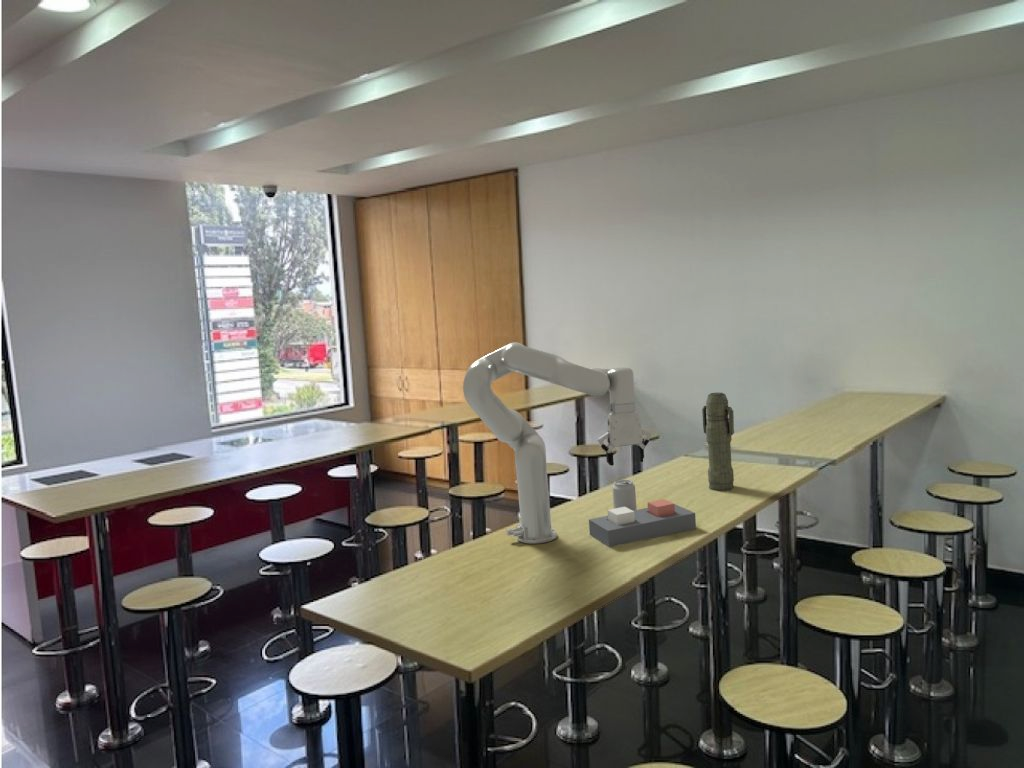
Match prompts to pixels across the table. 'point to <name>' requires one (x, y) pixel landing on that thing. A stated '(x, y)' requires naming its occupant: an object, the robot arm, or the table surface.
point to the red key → (661, 508)
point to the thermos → (719, 441)
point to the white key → (621, 515)
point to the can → (624, 494)
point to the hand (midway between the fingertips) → (625, 462)
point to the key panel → (641, 526)
